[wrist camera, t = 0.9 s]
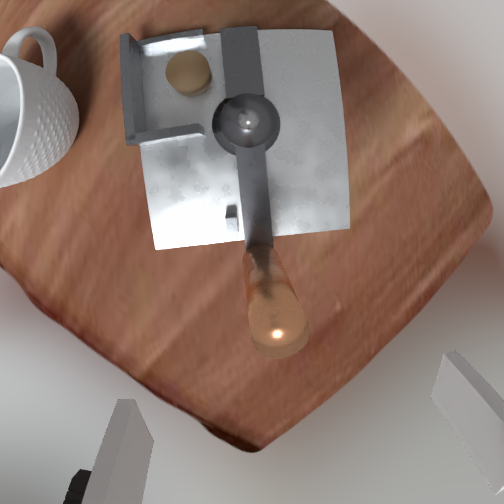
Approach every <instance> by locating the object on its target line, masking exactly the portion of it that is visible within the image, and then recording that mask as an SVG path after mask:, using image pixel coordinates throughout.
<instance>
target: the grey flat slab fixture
mask: <svg viewBox="0 0 504 504" xmlns="http://www.w3.org/2000/svg"><path fill="white" fill-rule="evenodd" d="M257 31H258V39H259V47H260V56H261V65H262V73H263V82H264V92H265V95H264V97H263V98H265V99H266V100H267V101H268V102H269V103H270V104H271V105H272V106H273V108H274V110H275V113H276V118H277V123H276V128H275V131H274V133H273V135H272V136H271V137H270V139H269V140H267V141H266V142H265V143H264V145H265V155H266V166H267V177H268V188H269V199H270V211H271V223H272V235H273V236H281V235H291V234H300V233H309V232H319V231H329V230H339V229H348V228H350V207H349V182H348V163H347V148H346V136H345V124H344V114H343V104H342V95H341V87H340V79H339V71H338V64H337V57H336V50H335V44H334V38H333V32H332V31H330V30H307V29H274V30H257ZM188 50H191V51H196V52H199V53H201V54H202V55H204V56H205V57H206V59H207V61H208V63H209V66H210V70H211V74H212V81H211V84H210V86H209V88H208V89H207V90H206V91H205V92H204V93H202V94H200V95H198V96H194V97H187V96H183V95H181V94H179V93H178V92H177V91H176V90H175V89H174V88H173V87H172V86H171V85H170V83H169V82H168V80H167V78H166V74H165V71H166V66H167V64H168V62H169V61H170V59H171V58H172V57H173V56H175V55H176V54H178V53H180V52H182V51H188ZM120 66H121V86H122V102H123V114H124V125H125V135H126V145H128V146H140V149H141V157H142V165H143V173H144V180H145V187H146V194H147V201H148V207H149V214H150V220H151V226H152V231H153V237H154V242H155V248H156V250H158V249H166V248H175V247H183V246H192V245H200V244H209V243H218V242H227V241H236V240H245V238H244V229H243V219H242V210H241V200H240V191H239V181H238V172H237V162H236V153H235V145H233V144H231V143H230V142H229V141H228V140H227V139H226V138H225V136H224V134H223V132H222V130H221V127H220V114H221V111H222V109H223V107H224V105H225V104H226V103H227V99H226V89H225V79H224V69H223V58H222V48H221V37H220V33H215V34H207V35H204V34H203V29H198V30H191V31H185V32H179V33H173V34H167V35H162V36H157V37H152V38H148V39H143V40H139V41H136V40H135V39H134V38H133V37H132V36H131V35H130V34H129V33H125V34H122V35H120Z"/></svg>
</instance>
